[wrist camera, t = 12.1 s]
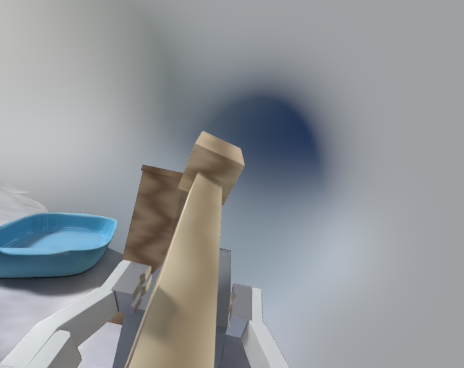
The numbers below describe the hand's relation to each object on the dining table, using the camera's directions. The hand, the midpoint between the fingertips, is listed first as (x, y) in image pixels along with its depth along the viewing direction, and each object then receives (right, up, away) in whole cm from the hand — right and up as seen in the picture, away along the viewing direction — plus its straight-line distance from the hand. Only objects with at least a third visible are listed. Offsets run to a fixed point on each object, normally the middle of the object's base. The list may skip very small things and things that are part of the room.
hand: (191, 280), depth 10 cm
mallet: (-2, +1, +11) cm, 11 cm away
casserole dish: (-43, -13, +38) cm, 59 cm away
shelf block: (-14, -18, +27) cm, 35 cm away
